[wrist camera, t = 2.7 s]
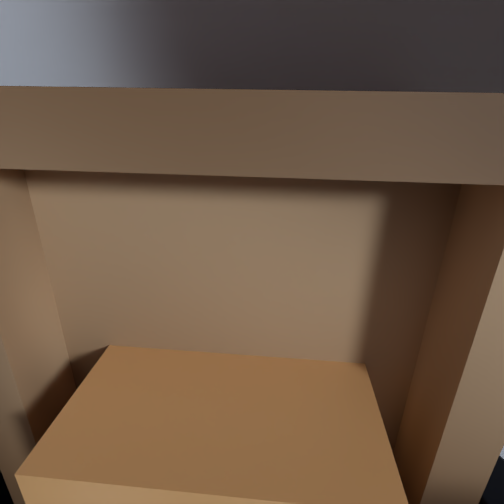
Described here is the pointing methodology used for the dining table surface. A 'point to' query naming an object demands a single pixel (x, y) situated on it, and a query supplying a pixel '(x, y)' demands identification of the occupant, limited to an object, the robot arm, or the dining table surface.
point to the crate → (215, 434)
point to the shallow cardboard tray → (261, 251)
